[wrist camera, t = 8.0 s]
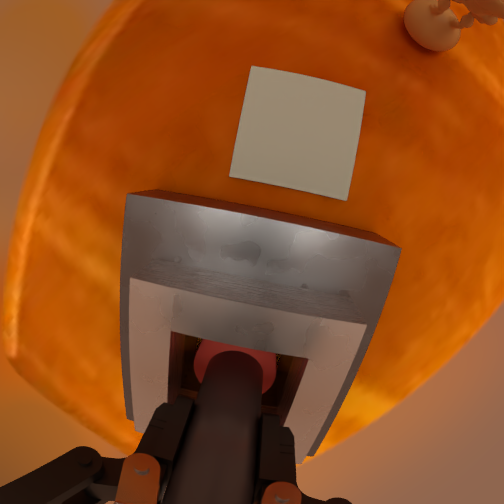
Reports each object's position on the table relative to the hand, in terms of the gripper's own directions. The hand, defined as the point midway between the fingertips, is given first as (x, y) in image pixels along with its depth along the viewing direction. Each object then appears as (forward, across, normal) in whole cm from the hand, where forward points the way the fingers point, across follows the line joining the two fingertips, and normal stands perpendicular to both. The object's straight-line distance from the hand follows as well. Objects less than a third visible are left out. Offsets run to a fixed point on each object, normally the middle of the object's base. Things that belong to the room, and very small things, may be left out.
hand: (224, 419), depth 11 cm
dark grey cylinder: (+4, 0, 0) cm, 4 cm away
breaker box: (+9, 0, 0) cm, 9 cm away
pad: (+9, -1, -13) cm, 16 cm away
